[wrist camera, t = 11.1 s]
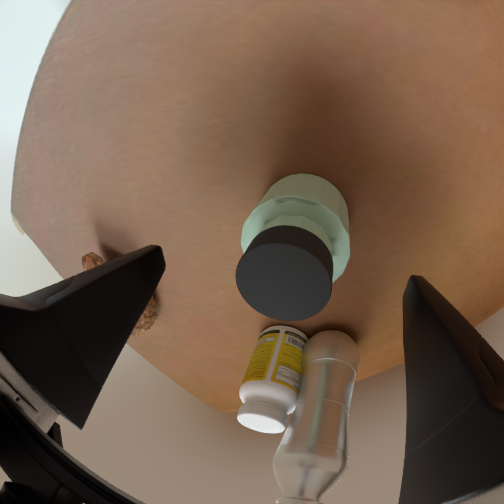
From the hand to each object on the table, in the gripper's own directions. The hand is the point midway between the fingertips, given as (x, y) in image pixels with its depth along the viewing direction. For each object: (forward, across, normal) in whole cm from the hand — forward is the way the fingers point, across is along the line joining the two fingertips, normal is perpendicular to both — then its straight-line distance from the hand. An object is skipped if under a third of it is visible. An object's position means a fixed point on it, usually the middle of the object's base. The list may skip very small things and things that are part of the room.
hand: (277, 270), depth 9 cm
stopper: (+9, 0, +4) cm, 10 cm away
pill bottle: (+13, +2, +20) cm, 24 cm away
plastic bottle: (+13, -4, +19) cm, 23 cm away
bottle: (+13, 0, +4) cm, 14 cm away
